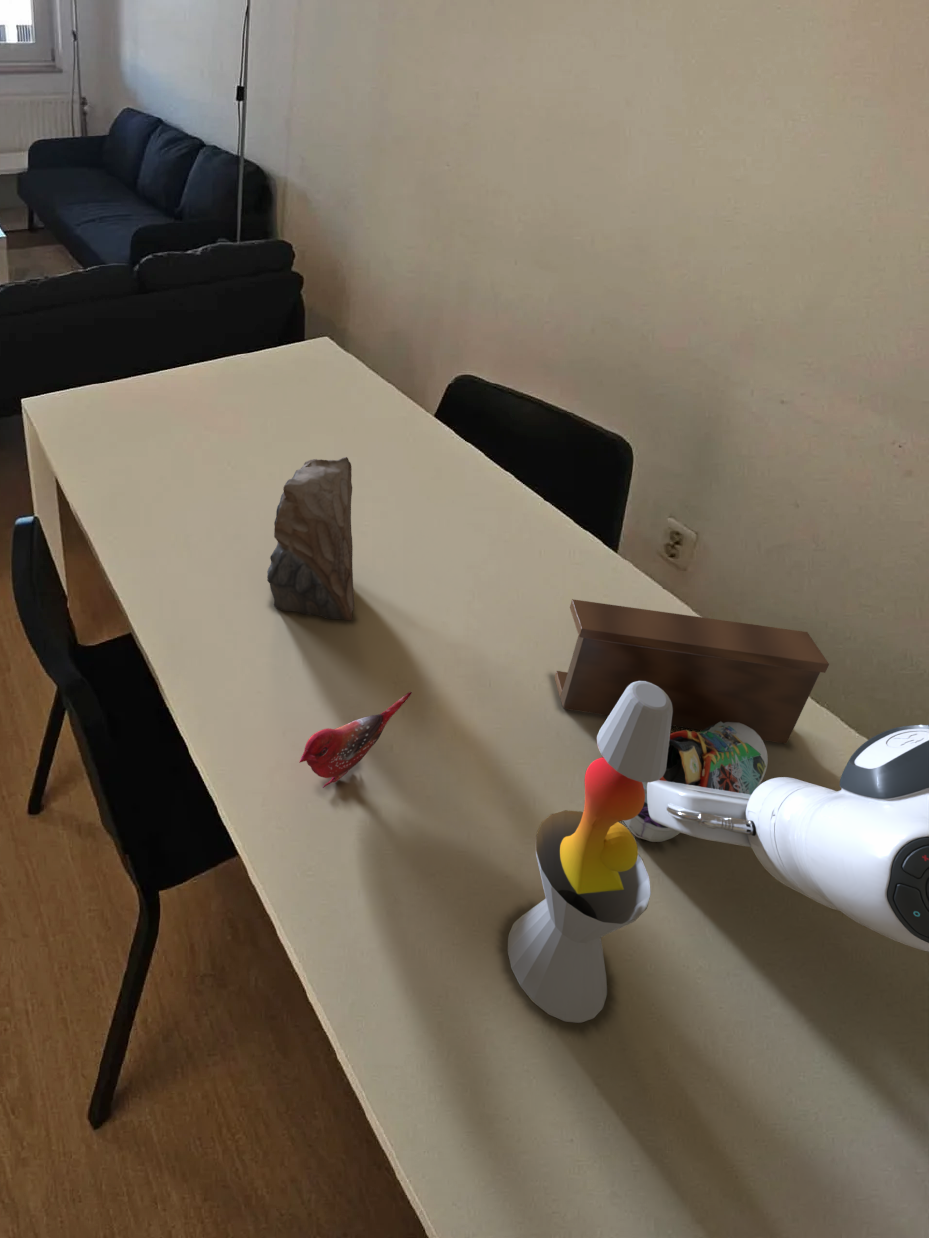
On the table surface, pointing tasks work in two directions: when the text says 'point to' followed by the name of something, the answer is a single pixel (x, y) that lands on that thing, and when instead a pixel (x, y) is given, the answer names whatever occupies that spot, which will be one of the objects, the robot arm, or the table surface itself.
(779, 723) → the wooden wall shelf
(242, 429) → the table surface
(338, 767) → the decorative bird figurine
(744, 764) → the sneaker
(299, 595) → the brown rock
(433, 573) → the table surface
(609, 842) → the lava lamp
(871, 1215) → the table surface
